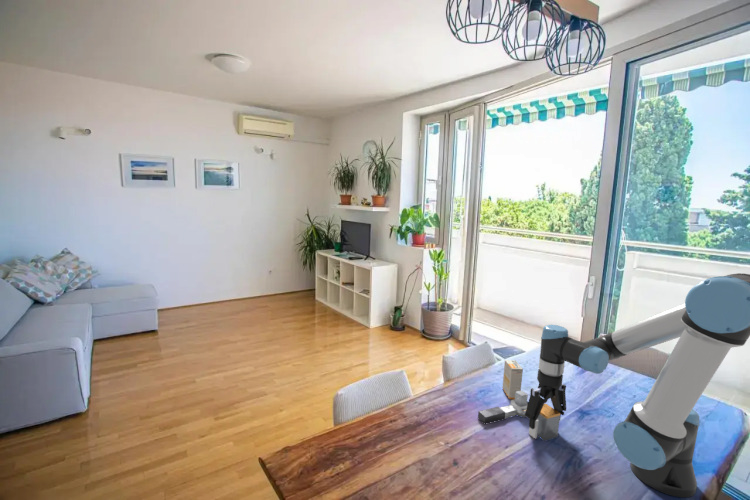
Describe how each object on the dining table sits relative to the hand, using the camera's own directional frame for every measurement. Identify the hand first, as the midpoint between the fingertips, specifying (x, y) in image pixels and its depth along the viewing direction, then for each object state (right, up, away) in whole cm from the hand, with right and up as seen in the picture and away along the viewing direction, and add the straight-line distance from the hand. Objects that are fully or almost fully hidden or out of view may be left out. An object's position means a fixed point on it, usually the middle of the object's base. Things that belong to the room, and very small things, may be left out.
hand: (543, 432), depth 124 cm
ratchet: (-10, +2, +10) cm, 14 cm away
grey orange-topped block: (0, 0, 0) cm, 0 cm away
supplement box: (-2, +3, +25) cm, 25 cm away
